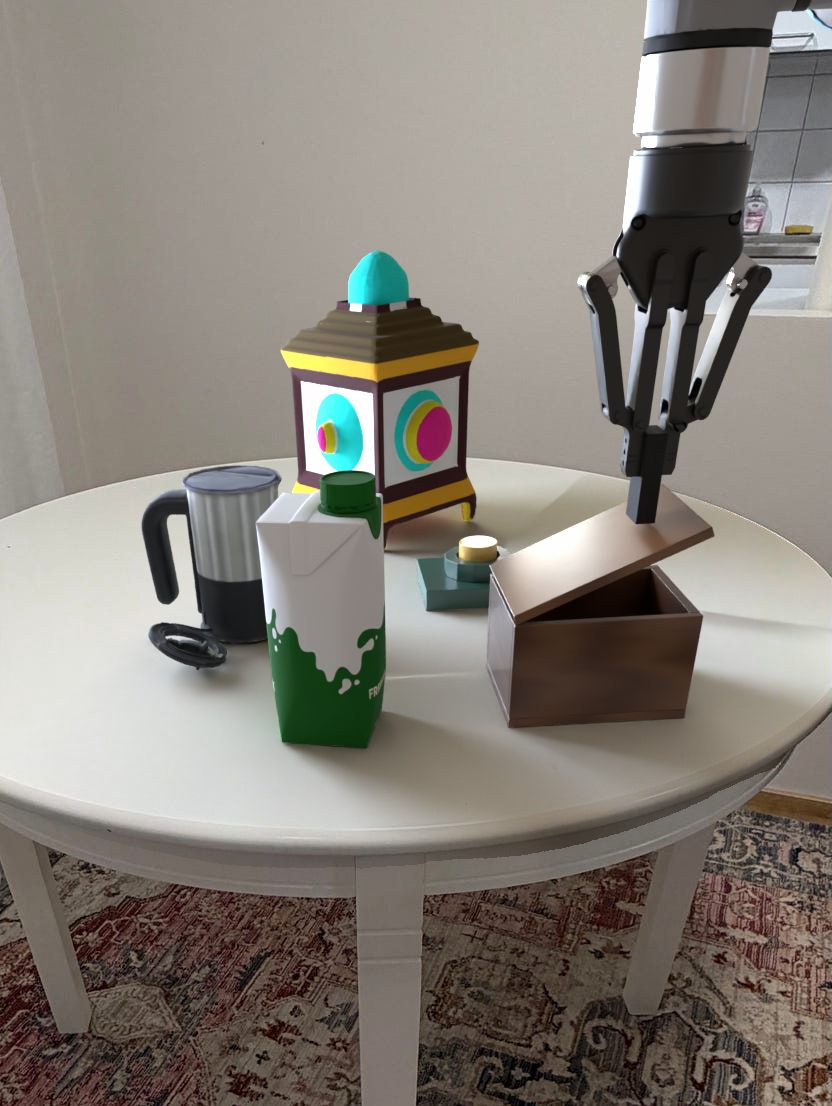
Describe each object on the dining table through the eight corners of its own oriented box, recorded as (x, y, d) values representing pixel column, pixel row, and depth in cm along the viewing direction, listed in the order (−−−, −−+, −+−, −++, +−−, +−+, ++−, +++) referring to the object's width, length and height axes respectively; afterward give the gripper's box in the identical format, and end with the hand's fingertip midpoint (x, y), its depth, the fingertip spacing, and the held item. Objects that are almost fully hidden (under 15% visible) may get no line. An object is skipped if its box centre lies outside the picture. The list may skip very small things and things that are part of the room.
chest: (643, 658, 88) (657, 564, 83) (684, 717, 78) (703, 616, 73) (485, 667, 87) (490, 573, 82) (508, 728, 78) (515, 626, 73)
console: (522, 572, 107) (525, 536, 105) (541, 605, 99) (544, 567, 97) (416, 577, 107) (416, 542, 105) (426, 611, 99) (426, 573, 97)
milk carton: (375, 755, 75) (368, 495, 64) (266, 747, 77) (239, 493, 65) (394, 704, 82) (390, 461, 70) (293, 698, 84) (273, 460, 72)
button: (493, 550, 103) (494, 534, 102) (499, 563, 99) (500, 546, 98) (456, 552, 102) (456, 536, 101) (461, 565, 99) (462, 548, 98)
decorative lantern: (275, 525, 125) (252, 255, 107) (384, 492, 135) (380, 241, 117) (380, 559, 112) (374, 261, 95) (491, 520, 123) (504, 245, 105)
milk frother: (287, 605, 102) (275, 460, 93) (306, 667, 89) (294, 505, 80) (153, 619, 100) (127, 472, 91) (153, 684, 87) (124, 521, 79)
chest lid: (665, 492, 79) (663, 483, 79) (715, 536, 70) (712, 526, 69) (492, 572, 82) (488, 564, 82) (517, 625, 73) (513, 616, 72)
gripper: (770, 138, 64) (706, 500, 77) (576, 147, 63) (546, 508, 77) (820, 135, 57) (740, 529, 71) (606, 145, 57) (568, 538, 71)
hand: (640, 518), depth 74 cm, fingers closed
